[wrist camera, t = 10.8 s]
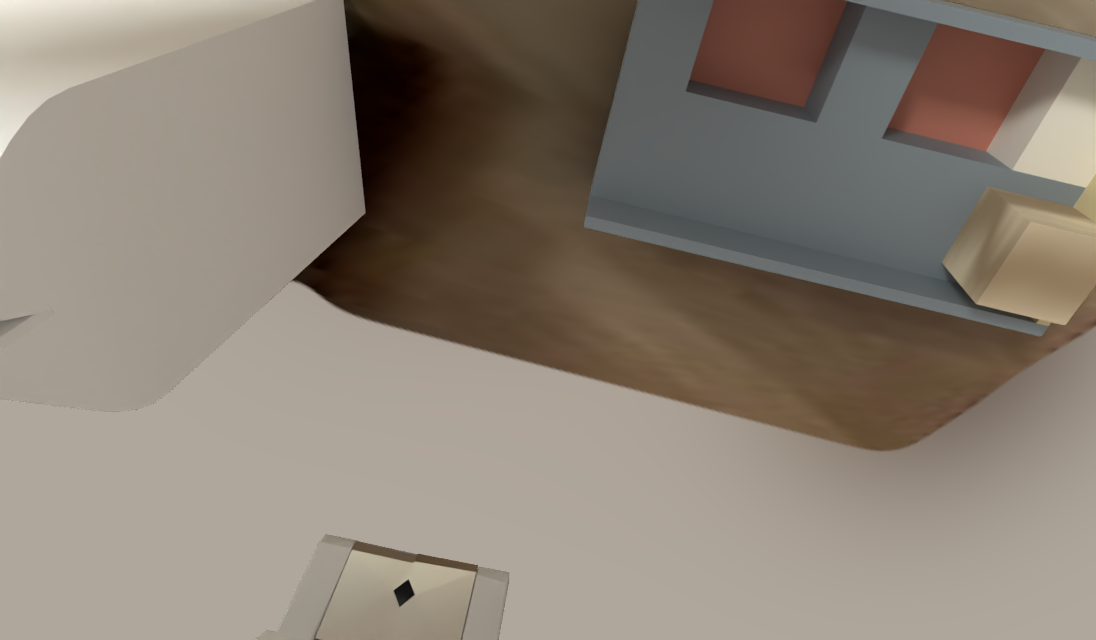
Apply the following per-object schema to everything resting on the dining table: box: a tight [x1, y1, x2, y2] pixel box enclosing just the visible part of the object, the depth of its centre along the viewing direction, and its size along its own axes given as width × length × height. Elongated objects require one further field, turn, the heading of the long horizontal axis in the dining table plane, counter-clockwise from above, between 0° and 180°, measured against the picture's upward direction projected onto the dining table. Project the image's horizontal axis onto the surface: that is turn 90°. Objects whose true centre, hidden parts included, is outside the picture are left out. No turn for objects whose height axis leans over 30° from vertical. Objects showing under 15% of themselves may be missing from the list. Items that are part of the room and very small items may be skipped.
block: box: [942, 186, 1096, 325], centre depth 29 cm, size 4×4×4 cm
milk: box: [0, 0, 366, 412], centre depth 25 cm, size 12×12×26 cm
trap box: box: [583, 0, 1096, 337], centre depth 30 cm, size 12×22×6 cm, turn 78°
